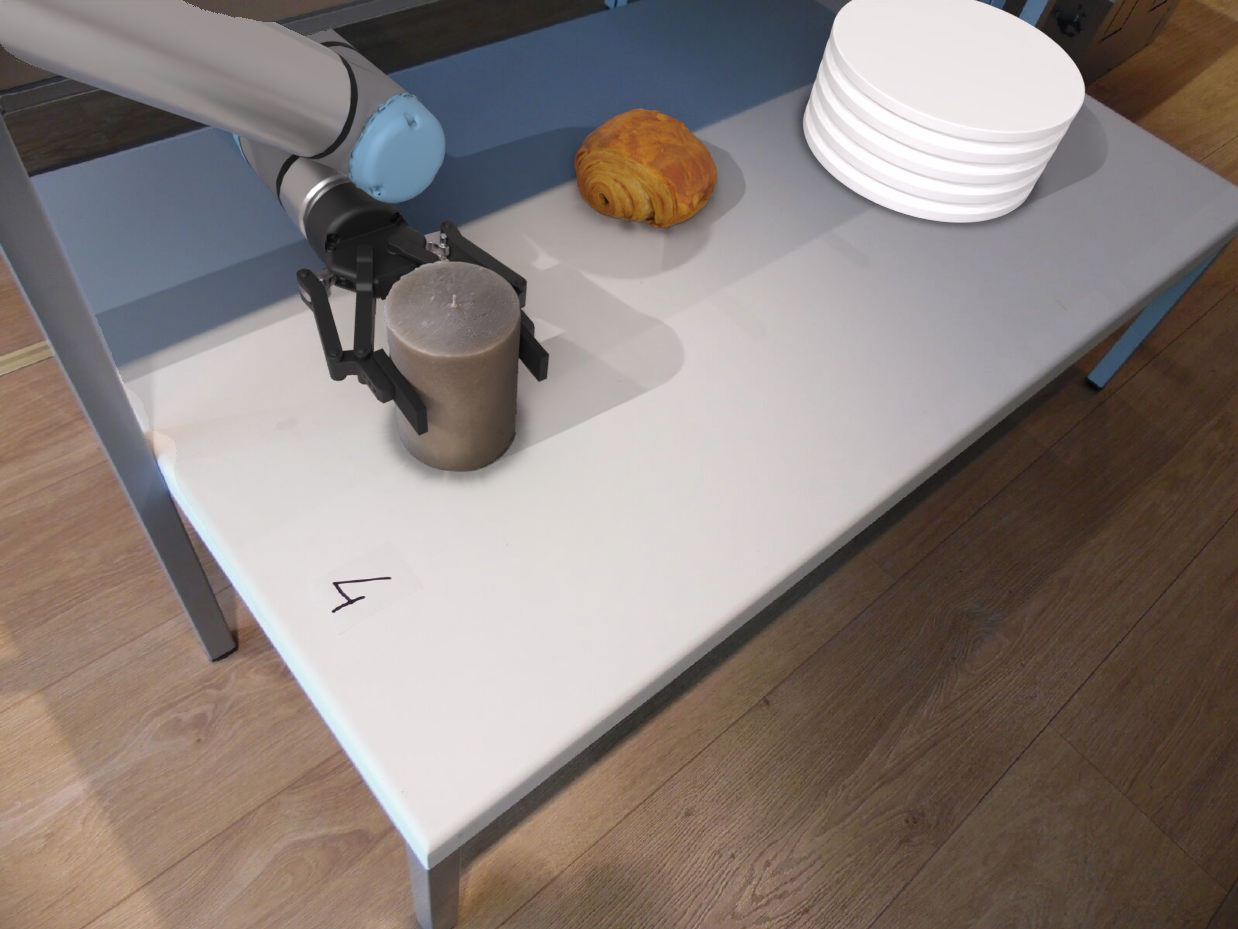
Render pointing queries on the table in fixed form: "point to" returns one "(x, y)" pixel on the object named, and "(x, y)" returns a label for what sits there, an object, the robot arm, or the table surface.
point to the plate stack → (940, 106)
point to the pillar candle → (457, 361)
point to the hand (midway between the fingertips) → (485, 394)
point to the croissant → (645, 169)
